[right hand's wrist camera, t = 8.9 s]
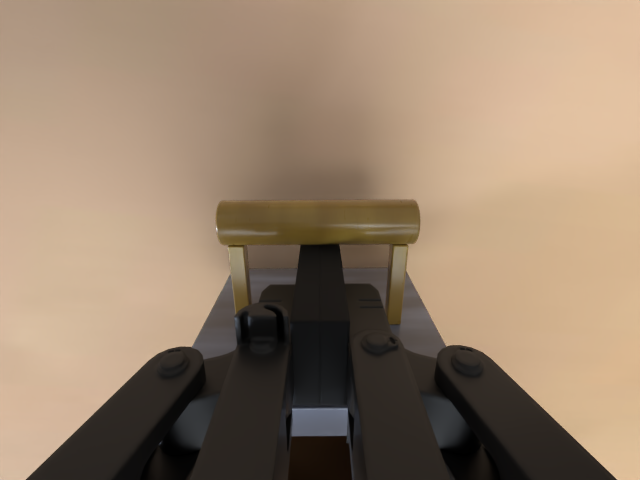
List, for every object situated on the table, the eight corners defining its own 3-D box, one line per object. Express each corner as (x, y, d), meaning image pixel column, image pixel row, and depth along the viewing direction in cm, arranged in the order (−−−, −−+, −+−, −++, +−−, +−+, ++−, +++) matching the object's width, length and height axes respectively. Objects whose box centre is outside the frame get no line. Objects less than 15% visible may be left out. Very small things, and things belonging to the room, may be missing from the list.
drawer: (222, 175, 17) (119, 249, 8) (413, 174, 17) (515, 246, 8) (256, 476, 25) (222, 675, 17) (384, 475, 25) (420, 673, 17)
